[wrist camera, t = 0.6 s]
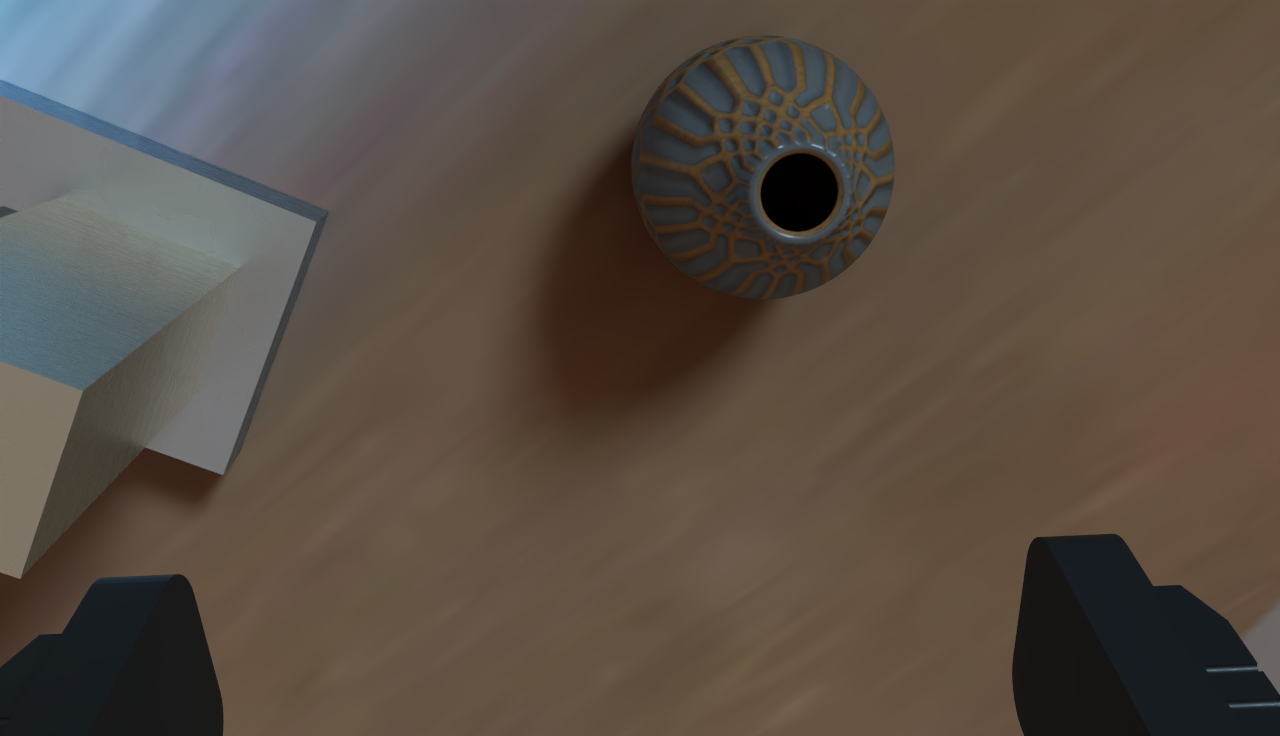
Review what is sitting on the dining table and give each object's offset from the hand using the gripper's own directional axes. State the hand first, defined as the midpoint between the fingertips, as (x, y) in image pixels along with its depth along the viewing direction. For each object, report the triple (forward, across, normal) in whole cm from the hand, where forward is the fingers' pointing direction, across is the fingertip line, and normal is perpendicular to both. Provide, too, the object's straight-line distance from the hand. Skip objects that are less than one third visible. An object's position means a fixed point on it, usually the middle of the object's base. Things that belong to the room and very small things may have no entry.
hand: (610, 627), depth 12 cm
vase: (+26, -4, +4) cm, 26 cm away
